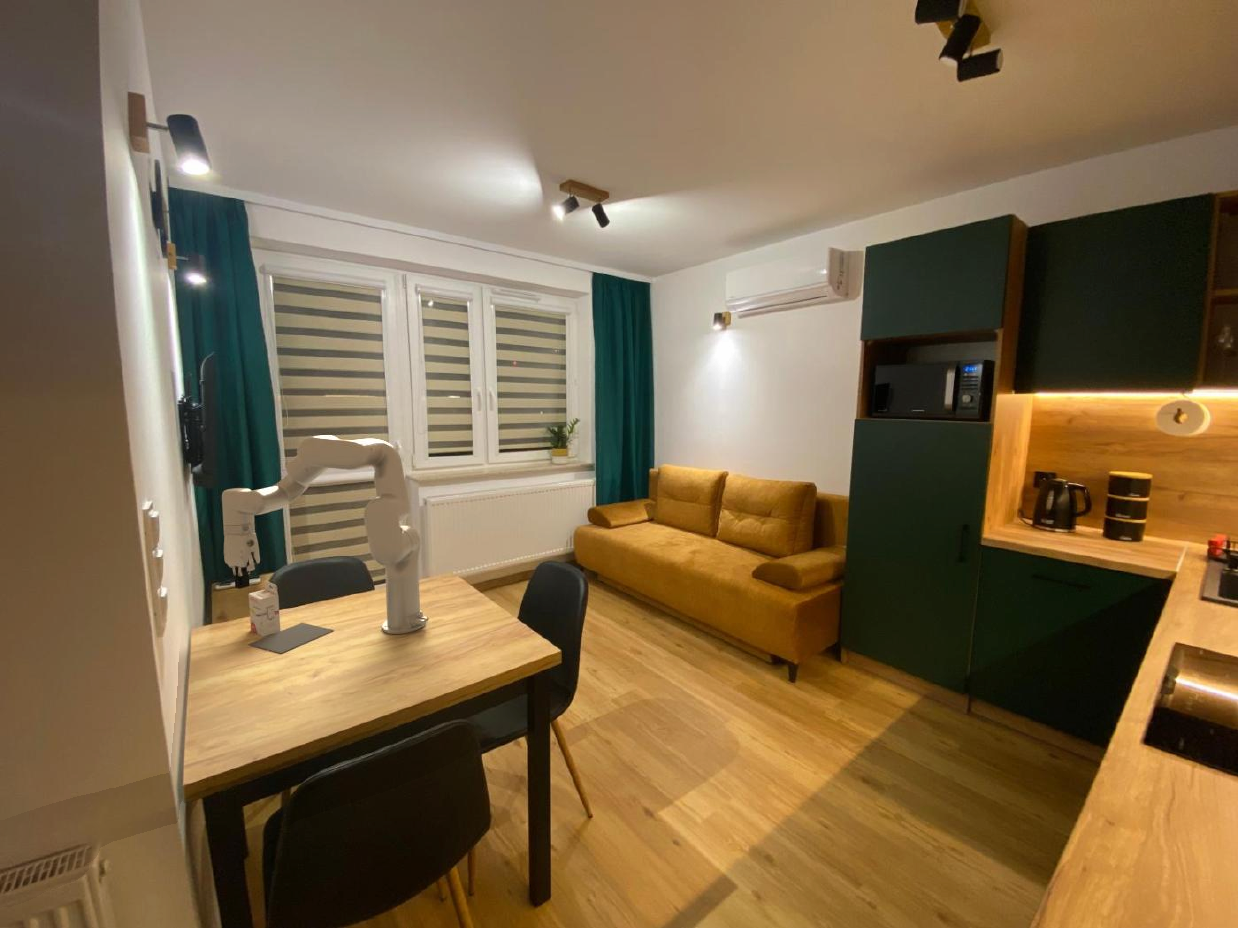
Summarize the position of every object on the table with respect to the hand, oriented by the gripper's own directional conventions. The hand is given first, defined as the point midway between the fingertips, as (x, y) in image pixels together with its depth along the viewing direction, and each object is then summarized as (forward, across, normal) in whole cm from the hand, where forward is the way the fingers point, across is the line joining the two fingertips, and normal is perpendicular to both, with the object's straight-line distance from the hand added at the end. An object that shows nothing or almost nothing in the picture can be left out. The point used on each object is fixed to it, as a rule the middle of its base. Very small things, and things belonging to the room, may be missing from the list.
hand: (242, 587), depth 153 cm
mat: (+12, -22, 0) cm, 25 cm away
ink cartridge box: (+13, -10, 0) cm, 16 cm away
